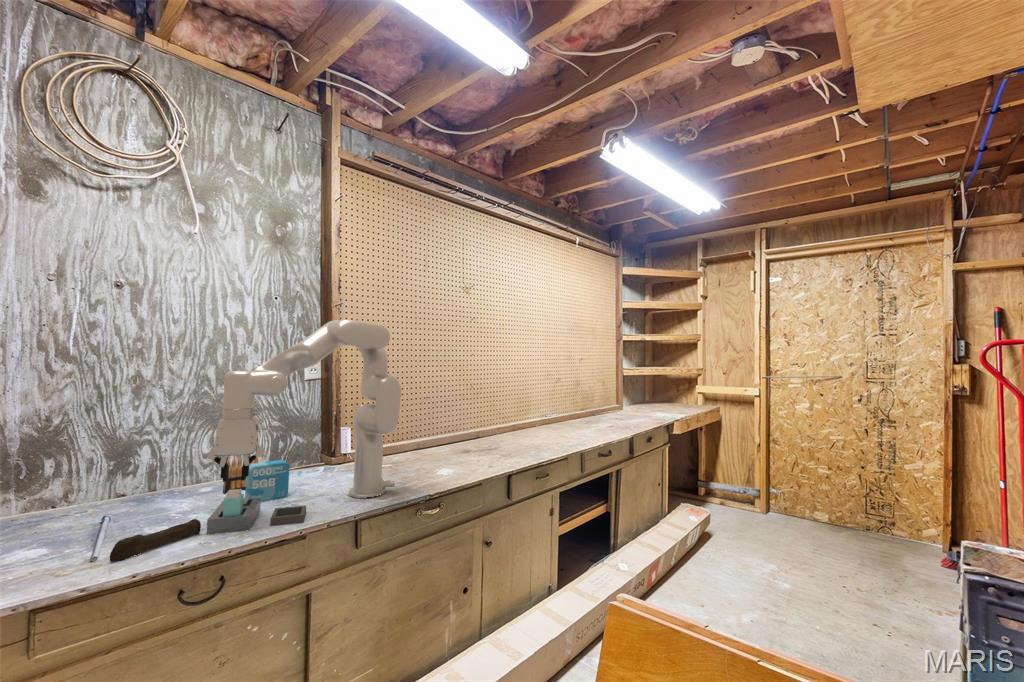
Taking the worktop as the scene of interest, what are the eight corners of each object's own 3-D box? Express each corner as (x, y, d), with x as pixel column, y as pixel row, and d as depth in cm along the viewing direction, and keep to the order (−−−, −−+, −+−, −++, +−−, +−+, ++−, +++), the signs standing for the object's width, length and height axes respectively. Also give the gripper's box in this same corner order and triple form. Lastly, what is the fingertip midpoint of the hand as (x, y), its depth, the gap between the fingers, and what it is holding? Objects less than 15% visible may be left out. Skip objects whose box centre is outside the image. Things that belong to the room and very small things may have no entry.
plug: (241, 523, 122) (243, 488, 123) (238, 529, 119) (240, 492, 119) (225, 525, 121) (227, 489, 121) (221, 530, 117) (224, 493, 118)
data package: (248, 504, 138) (250, 466, 139) (244, 500, 141) (246, 464, 142) (288, 496, 146) (289, 461, 147) (283, 493, 150) (285, 459, 150)
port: (260, 510, 133) (261, 493, 133) (249, 530, 118) (250, 510, 118) (222, 514, 129) (223, 496, 129) (206, 534, 114) (207, 514, 114)
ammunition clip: (224, 493, 148) (226, 458, 148) (222, 492, 149) (224, 457, 149) (258, 487, 156) (260, 454, 156) (256, 486, 157) (258, 453, 157)
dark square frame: (305, 512, 132) (306, 505, 132) (303, 522, 124) (303, 514, 124) (274, 515, 129) (275, 508, 129) (270, 526, 121) (270, 518, 121)
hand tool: (192, 532, 116) (193, 514, 116) (201, 534, 115) (202, 517, 115) (103, 561, 99) (104, 541, 99) (112, 565, 97) (114, 544, 97)
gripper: (273, 412, 128) (270, 474, 127) (207, 413, 122) (203, 478, 121) (269, 415, 121) (266, 481, 120) (199, 416, 115) (194, 486, 114)
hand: (234, 479), depth 120 cm, fingers open, 3 cm apart
